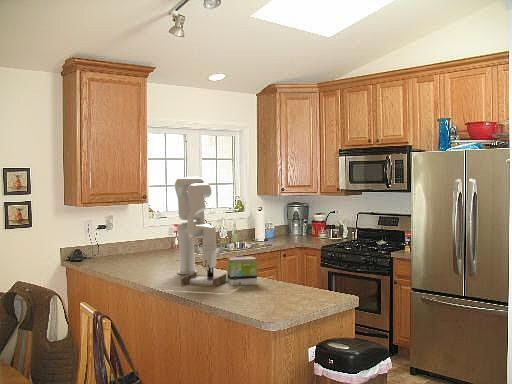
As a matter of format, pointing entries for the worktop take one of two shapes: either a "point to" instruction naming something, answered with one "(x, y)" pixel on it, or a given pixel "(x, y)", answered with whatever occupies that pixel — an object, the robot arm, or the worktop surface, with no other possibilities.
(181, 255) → the robot arm
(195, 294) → the worktop surface
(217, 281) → the walnut case
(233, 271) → the tea box
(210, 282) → the cover plate
